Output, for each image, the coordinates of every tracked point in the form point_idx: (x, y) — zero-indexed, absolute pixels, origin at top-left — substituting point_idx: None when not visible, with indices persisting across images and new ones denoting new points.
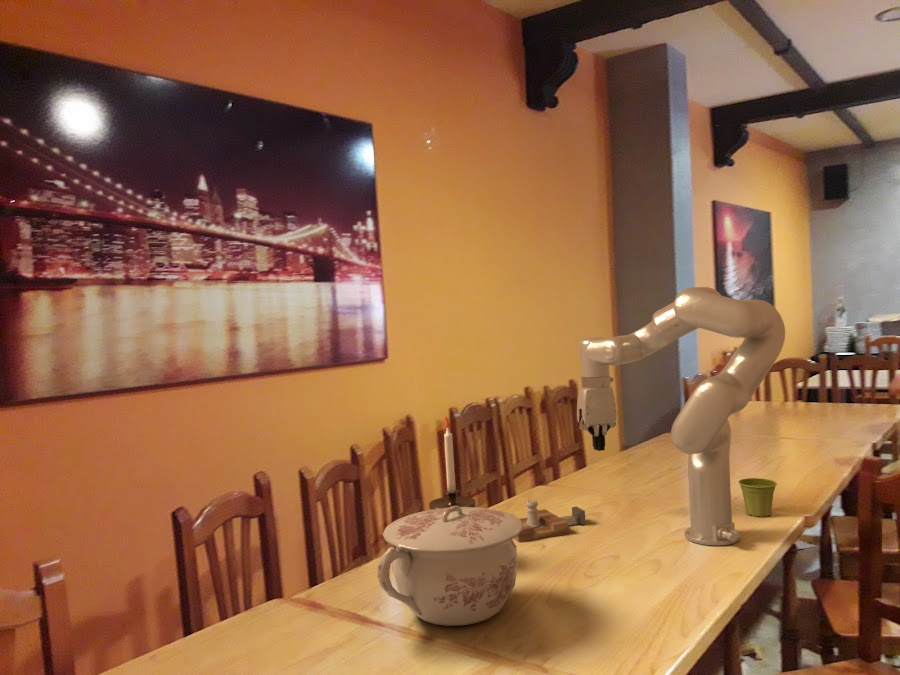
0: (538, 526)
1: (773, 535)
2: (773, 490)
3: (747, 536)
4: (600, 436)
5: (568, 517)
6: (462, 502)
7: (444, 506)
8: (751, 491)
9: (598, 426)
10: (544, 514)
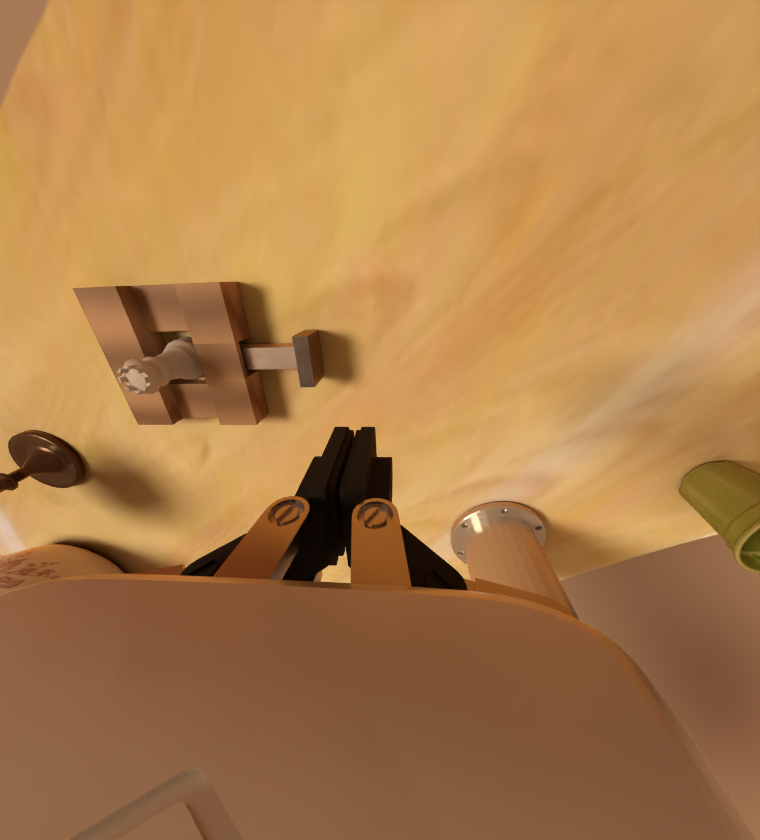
0: (197, 377)
1: (587, 562)
2: None
3: (549, 550)
4: (336, 563)
5: (279, 360)
6: None
7: None
8: (726, 541)
9: (351, 575)
10: (210, 338)
